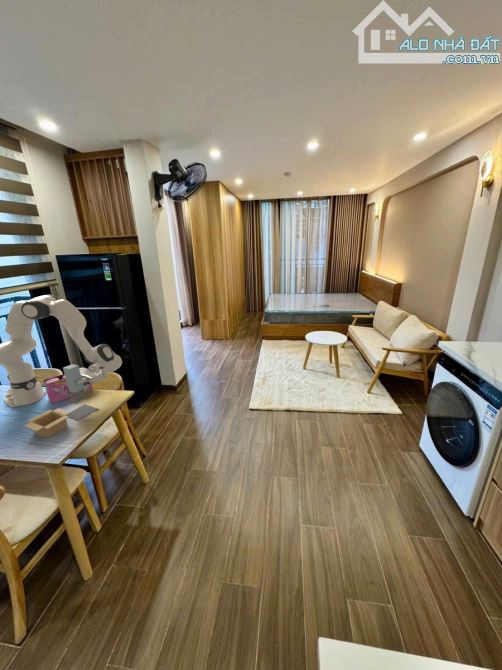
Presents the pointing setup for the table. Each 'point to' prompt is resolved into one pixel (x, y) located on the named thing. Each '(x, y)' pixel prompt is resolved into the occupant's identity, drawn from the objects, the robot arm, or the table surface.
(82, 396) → the pale upright canister
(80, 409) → the mat
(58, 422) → the carton
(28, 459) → the table surface
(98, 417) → the table surface
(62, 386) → the pink multipack
